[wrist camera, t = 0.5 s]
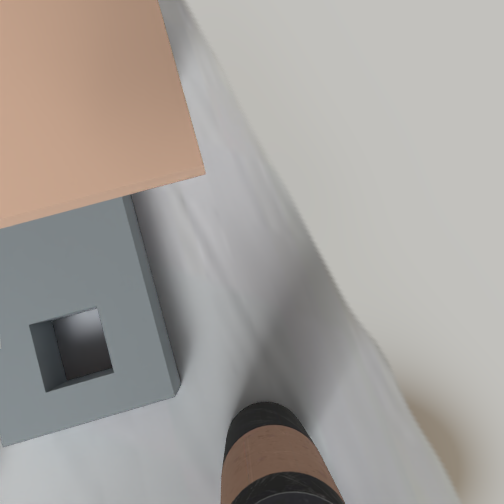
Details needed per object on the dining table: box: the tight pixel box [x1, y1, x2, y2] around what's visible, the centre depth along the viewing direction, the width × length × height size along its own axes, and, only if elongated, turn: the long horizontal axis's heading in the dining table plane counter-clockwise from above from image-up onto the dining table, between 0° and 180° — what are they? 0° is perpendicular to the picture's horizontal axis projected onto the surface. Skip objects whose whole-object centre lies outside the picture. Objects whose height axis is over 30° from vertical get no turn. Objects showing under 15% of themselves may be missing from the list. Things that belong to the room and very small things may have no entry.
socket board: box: [0, 195, 181, 447], centre depth 42 cm, size 20×14×5 cm
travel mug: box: [221, 402, 345, 504], centre depth 34 cm, size 8×8×20 cm
